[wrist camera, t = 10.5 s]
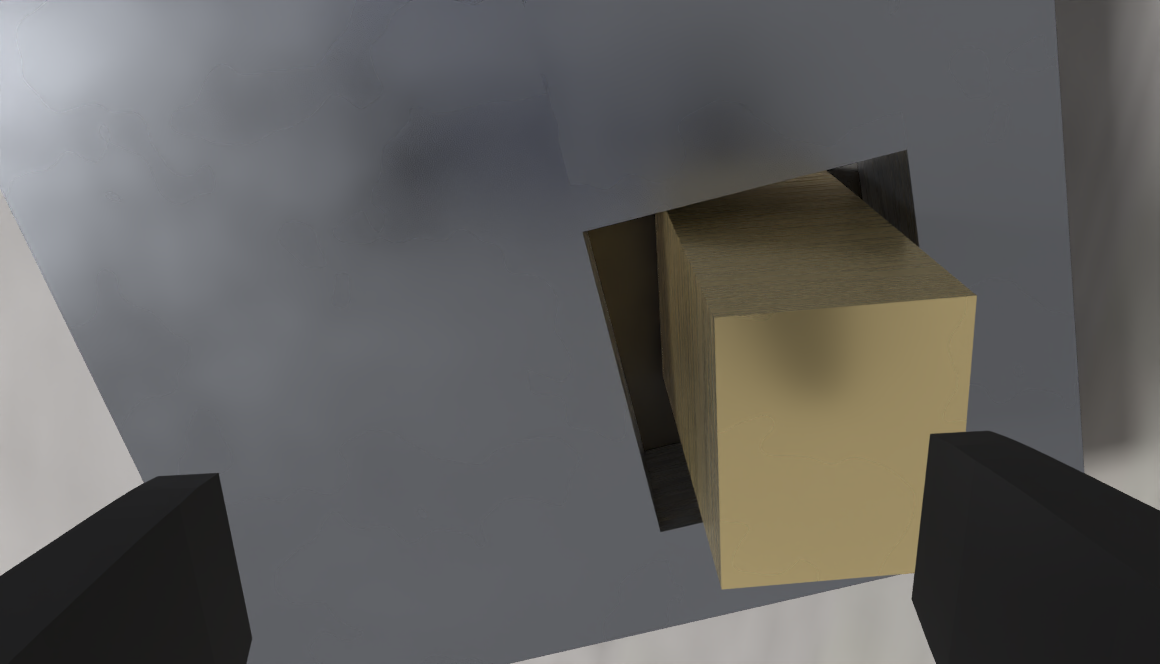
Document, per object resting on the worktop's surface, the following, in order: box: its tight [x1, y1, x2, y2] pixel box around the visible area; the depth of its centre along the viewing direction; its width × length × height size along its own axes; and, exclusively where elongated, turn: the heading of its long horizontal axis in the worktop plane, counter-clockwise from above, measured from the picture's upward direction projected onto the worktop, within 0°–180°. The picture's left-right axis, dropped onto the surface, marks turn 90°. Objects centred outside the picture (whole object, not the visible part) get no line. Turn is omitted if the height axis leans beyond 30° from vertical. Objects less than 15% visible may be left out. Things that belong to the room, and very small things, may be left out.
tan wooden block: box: [655, 170, 977, 589], centre depth 16 cm, size 3×4×7 cm
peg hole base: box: [0, 0, 1084, 664], centre depth 17 cm, size 16×16×3 cm
